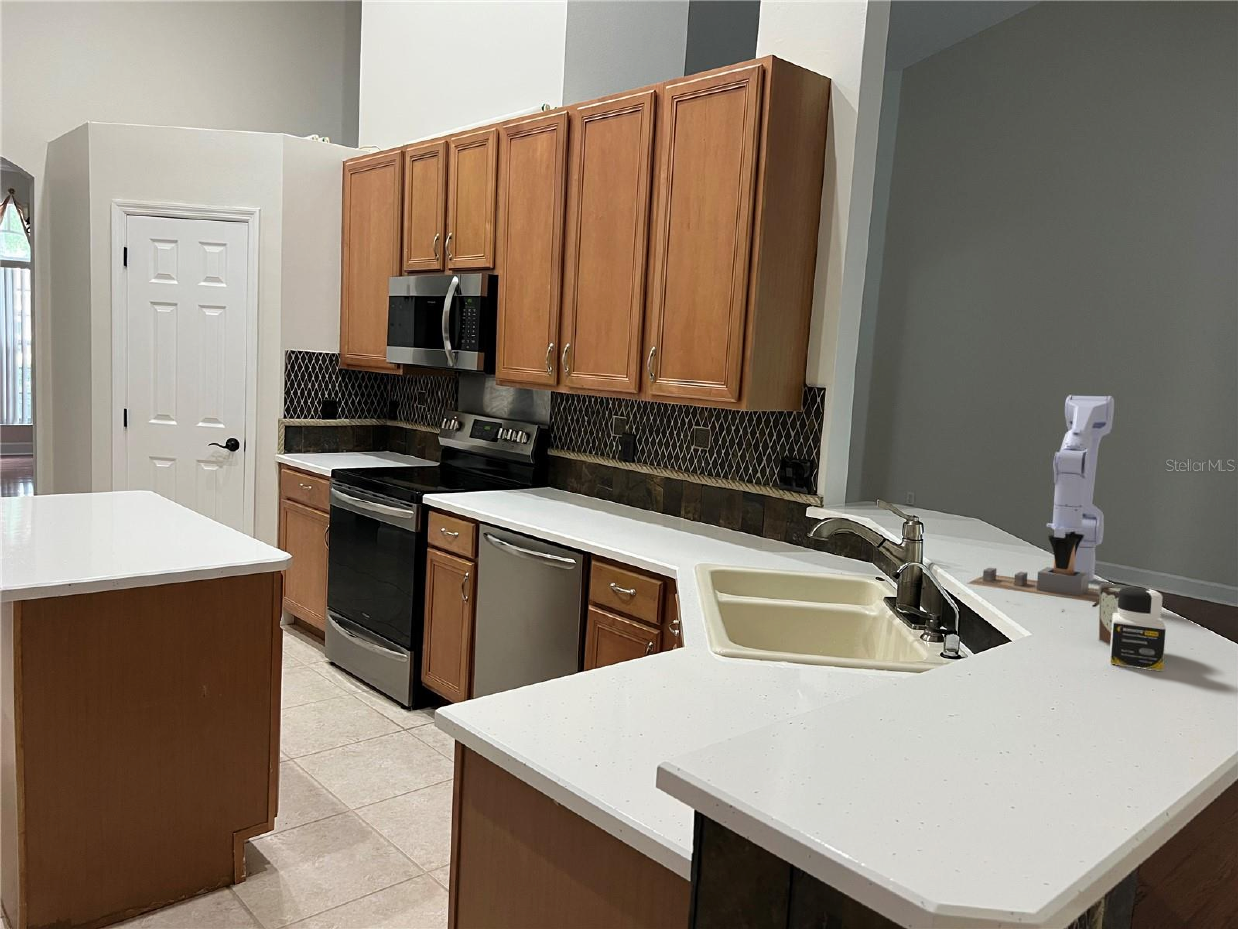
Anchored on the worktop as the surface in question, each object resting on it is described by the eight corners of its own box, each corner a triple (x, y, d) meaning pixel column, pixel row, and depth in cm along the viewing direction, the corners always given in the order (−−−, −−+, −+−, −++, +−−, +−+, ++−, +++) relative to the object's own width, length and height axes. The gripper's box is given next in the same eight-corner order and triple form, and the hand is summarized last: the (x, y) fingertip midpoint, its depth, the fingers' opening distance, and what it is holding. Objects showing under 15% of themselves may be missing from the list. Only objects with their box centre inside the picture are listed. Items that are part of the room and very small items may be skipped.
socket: (1045, 584, 204) (1047, 567, 204) (1088, 590, 199) (1089, 572, 198) (1036, 590, 197) (1037, 572, 197) (1080, 596, 192) (1081, 577, 192)
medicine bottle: (1110, 665, 143) (1115, 590, 143) (1109, 654, 150) (1114, 582, 149) (1162, 672, 140) (1168, 596, 139) (1159, 661, 146) (1165, 588, 146)
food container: (1170, 659, 148) (1175, 599, 147) (1132, 658, 148) (1137, 597, 147) (1129, 639, 160) (1133, 583, 159) (1094, 638, 160) (1098, 582, 160)
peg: (1055, 573, 201) (1057, 542, 200) (1075, 576, 198) (1076, 544, 198) (1051, 576, 197) (1052, 544, 197) (1071, 578, 195) (1073, 546, 195)
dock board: (987, 578, 215) (988, 563, 215) (1109, 595, 200) (1111, 579, 199) (966, 587, 203) (967, 572, 202) (1096, 606, 187) (1097, 590, 187)
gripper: (1055, 501, 205) (1051, 560, 206) (1040, 506, 193) (1036, 569, 194) (1090, 504, 201) (1086, 565, 202) (1077, 509, 189) (1072, 573, 190)
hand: (1064, 567), depth 198 cm, fingers closed on peg, 4 cm apart
